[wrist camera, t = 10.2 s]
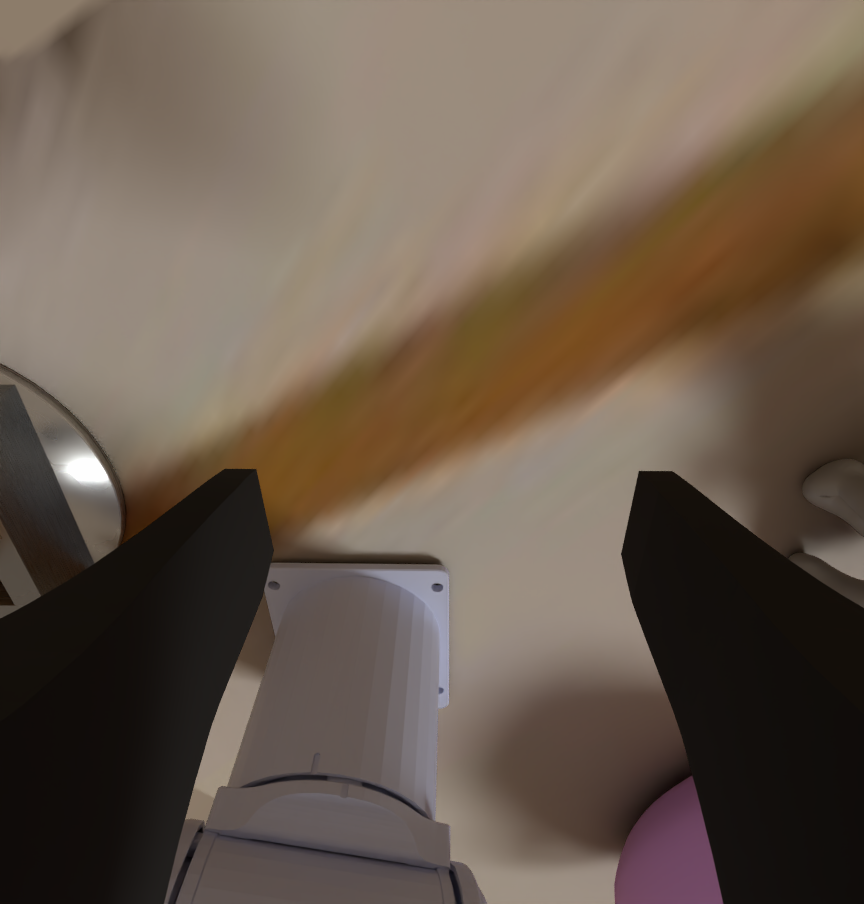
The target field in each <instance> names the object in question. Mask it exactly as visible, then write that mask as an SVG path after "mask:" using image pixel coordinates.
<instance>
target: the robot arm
mask: <svg viewBox="0 0 864 904" xmlns="http://www.w3.org/2000/svg"><path fill="white" fill-rule="evenodd" d="M273 552H274V549H273V545H272V540H271V536H270V531H269V526H268V522H267V517H266V512H265V508H264V503H263V499H262V494H261V489H260V485H259V480H258V475H257V471H256V469H224V470H223V471H221V472H220V473H218V474H216V475H215V476H214V477H212V478H211V479H210V480H208V481H207V482H205V483H204V484H203V485H201V486H200V487H199V488H198V489H196V490H195V491H194V492H192V493H191V494H190V495H188V496H187V497H186V498H184V499H183V500H182V501H181V502H179V503H178V504H177V505H175V506H174V507H173V508H171V509H170V510H169V511H167V512H166V513H165V514H163V515H162V516H161V517H159V518H158V519H157V520H155V521H154V522H153V523H151V524H150V525H149V526H147V527H146V528H145V529H143V530H142V531H141V532H139V533H138V534H136V535H135V536H133V537H132V538H131V539H129V540H128V541H126V542H125V543H123V544H122V545H120V546H119V547H117V548H116V549H115V550H113V551H112V552H110V553H109V554H107V555H106V556H104V557H103V558H102V559H100V560H99V561H97V562H96V563H94V564H93V565H91V566H90V567H88V568H87V569H85V570H84V571H82V572H81V573H79V574H77V575H76V576H74V577H73V578H71V579H69V580H68V581H66V582H64V583H63V584H61V585H59V586H58V587H56V588H54V589H53V590H51V591H49V592H47V593H46V594H44V595H42V596H41V597H39V598H37V599H35V600H34V601H32V602H30V603H29V604H27V605H25V606H23V607H21V608H19V609H18V610H16V611H14V612H12V613H10V614H8V615H6V616H4V617H2V618H0V904H487V902H486V900H485V897H484V895H483V893H482V892H481V890H480V888H479V887H478V885H477V882H476V880H475V877H474V875H473V873H472V872H471V870H470V869H469V868H468V866H467V865H465V864H463V863H460V862H455V861H450V826H449V825H448V824H444V823H439V822H436V821H435V814H436V775H437V735H438V709H439V708H444V707H446V706H447V705H448V704H449V571H448V569H447V568H446V567H444V566H442V565H437V564H347V563H271V560H272V556H273ZM621 555H622V560H623V565H624V569H625V574H626V579H627V583H628V587H629V591H630V595H631V599H632V603H633V606H634V608H635V611H636V614H637V617H638V619H639V622H640V625H641V627H642V630H643V633H644V635H645V638H646V641H647V643H648V646H649V649H650V651H651V654H652V657H653V659H654V662H655V664H656V667H657V670H658V672H659V675H660V677H661V680H662V683H663V685H664V688H665V691H666V693H667V696H668V698H669V701H670V704H671V706H672V709H673V712H674V715H675V718H676V721H677V724H678V727H679V730H680V733H681V736H682V739H683V743H684V746H685V750H686V754H687V757H688V761H689V765H690V769H691V772H692V776H693V780H694V784H695V787H696V791H697V795H698V799H699V803H700V807H701V811H702V815H703V819H704V823H705V827H706V831H707V835H708V839H709V843H710V847H711V852H712V856H713V860H714V864H715V869H716V873H717V878H718V882H719V887H720V891H721V896H722V900H723V904H864V608H863V607H861V606H860V605H858V604H856V603H855V602H853V601H851V600H850V599H848V598H846V597H845V596H843V595H841V594H840V593H838V592H837V591H835V590H833V589H832V588H830V587H829V586H827V585H826V584H824V583H822V582H821V581H819V580H818V579H816V578H815V577H814V576H812V575H811V574H809V573H808V572H806V571H805V570H803V569H802V568H800V567H799V566H797V565H796V564H795V563H793V562H792V561H790V560H789V559H787V558H786V557H784V556H783V555H782V554H780V553H779V552H777V551H776V550H775V549H773V548H772V547H771V546H769V545H768V544H766V543H765V542H764V541H762V540H761V539H760V538H758V537H757V536H756V535H754V534H753V533H752V532H750V531H749V530H748V529H747V528H745V527H744V526H743V525H741V524H740V523H739V522H737V521H736V520H735V519H734V518H732V517H731V516H730V515H728V514H727V513H726V512H725V511H723V510H722V509H721V508H720V507H718V506H717V505H716V504H715V503H713V502H712V501H711V500H709V499H708V498H707V497H706V496H704V495H703V494H702V493H701V492H699V491H698V490H697V489H696V488H694V487H693V486H692V485H690V484H689V483H688V482H687V481H685V480H684V479H683V478H681V477H680V476H678V475H677V474H676V473H674V472H673V471H639V473H638V478H637V483H636V487H635V492H634V497H633V501H632V506H631V511H630V515H629V520H628V525H627V530H626V534H625V539H624V544H623V548H622V553H621ZM272 581H275V582H277V583H274V582H272ZM435 583H439V584H441V585H434V584H435ZM263 592H265V596H266V600H267V605H268V609H269V613H270V617H271V621H272V625H273V630H274V634H275V641H274V644H273V647H272V650H271V653H270V656H269V659H268V662H267V665H266V669H265V672H264V675H263V678H262V681H261V684H260V687H259V690H258V693H257V696H256V699H255V702H254V705H253V709H252V712H251V715H250V718H249V721H248V724H247V727H246V730H245V733H244V736H243V739H242V742H241V746H240V749H239V752H238V755H237V758H236V761H235V764H234V767H233V770H232V773H231V776H230V779H229V782H228V786H227V787H225V786H221V787H219V788H218V790H217V793H216V796H215V799H214V802H213V805H212V808H211V811H210V814H209V817H208V820H207V823H206V826H205V824H204V821H202V820H196V819H186V820H185V817H186V814H187V810H188V806H189V802H190V799H191V795H192V791H193V788H194V784H195V780H196V777H197V773H198V770H199V766H200V763H201V760H202V756H203V753H204V749H205V746H206V742H207V739H208V736H209V732H210V729H211V726H212V723H213V720H214V717H215V715H216V712H217V709H218V706H219V703H220V701H221V698H222V696H223V693H224V691H225V688H226V686H227V684H228V681H229V679H230V676H231V674H232V671H233V669H234V666H235V664H236V661H237V659H238V656H239V654H240V652H241V649H242V647H243V644H244V642H245V639H246V637H247V634H248V632H249V629H250V627H251V624H252V622H253V619H254V617H255V614H256V612H257V609H258V606H259V604H260V601H261V599H262V596H263Z"/></svg>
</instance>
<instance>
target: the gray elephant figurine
mask: <svg viewBox="0 0 864 904" xmlns="http://www.w3.org/2000/svg"><path fill="white" fill-rule="evenodd" d="M802 492H803V495H804V497H805V498H806V499H807V500H808V501H809V502H810V503H812V504H813V505H815V506H817V507H819V508H822V509H824V510H826V511H828V512H830V513H833V514H835V515H837V516H839V517H840V518H842V519H843V520H845V521H846V522H847V523H849V524H850V525H851V526H852V527H853V528H854V529H855V530H856V531H857V532H859V533H860V534H861V535H862V536H863V537H864V465H863V464H862V463H861V462H859V461H857V460H853V459H840V460H836V461H833V462H830V463H827V464H825V465H823V466H822V467H820V468H819V469H818V470H816V471H815V472H814V473H812V474H811V475H809V476H808V477H807V478H806V479H805V481H804V483H803V486H802ZM788 559H789V560H790V561H792V562H793V563H795V564H796V565H797V566H799V567H800V568H802V569H803V570H805V571H806V572H808V573H809V574H811V575H812V576H814V577H815V578H816V579H818V580H819V581H821V582H822V583H824V584H826V585H827V586H829V587H830V588H832V589H833V590H835V591H837V592H838V593H840V594H841V595H843V596H845V597H846V598H848V599H850V600H851V601H853V602H855V603H856V604H858V605H860V606H861V607H863V608H864V580H860V579H856V578H853V577H851V576H848V575H846V574H844V573H842V572H841V571H839V570H837V569H835V568H834V567H832V566H830V565H829V564H827V563H826V562H824V561H823V560H821V559H819V558H817V557H815V556H812V555H809V554H806V553H795V554H793V555H791V556H790V557H789V558H788Z"/></svg>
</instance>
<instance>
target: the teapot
mask: <svg viewBox="0 0 864 904" xmlns="http://www.w3.org/2000/svg"><path fill="white" fill-rule="evenodd" d="M614 886H615V904H723V900H722V896H721V891H720V887H719V882H718V878H717V873H716V869H715V864H714V860H713V856H712V852H711V847H710V843H709V839H708V835H707V831H706V827H705V823H704V819H703V815H702V811H701V807H700V803H699V799H698V795H697V791H696V787H695V784H694V780H693V776H690V777H688V778H687V779H685V780H684V781H682V782H681V783H679V784H677V785H676V786H674V787H673V788H672V789H670V790H669V791H667V792H666V793H664V794H663V795H662V796H661V797H660V798H658V799H657V800H656V801H655V802H654V803H653V804H652V805H651V806H650V807H649V808H648V809H647V810H646V811H645V812H644V813H643V814H642V815H641V817H640V818H639V819H638V821H637V822H636V824H635V825H634V827H633V828H632V830H631V832H630V833H629V835H628V837H627V839H626V842H625V845H624V848H623V850H622V853H621V856H620V860H619V864H618V868H617V872H616V878H615V884H614Z"/></svg>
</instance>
